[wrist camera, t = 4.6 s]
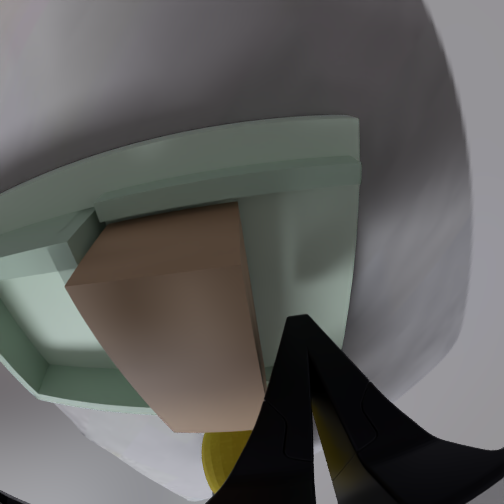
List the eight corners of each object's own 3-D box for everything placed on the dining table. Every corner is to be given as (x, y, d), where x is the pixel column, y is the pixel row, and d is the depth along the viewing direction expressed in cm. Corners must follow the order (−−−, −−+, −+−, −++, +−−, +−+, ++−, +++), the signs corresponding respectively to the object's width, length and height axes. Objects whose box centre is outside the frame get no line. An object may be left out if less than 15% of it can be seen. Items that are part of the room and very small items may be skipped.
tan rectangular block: (264, 369, 12) (271, 427, 9) (179, 376, 12) (174, 432, 10) (237, 201, 8) (240, 264, 5) (108, 224, 8) (64, 286, 5)
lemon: (282, 364, 14) (305, 509, 7) (299, 404, 17) (317, 510, 10) (187, 382, 15) (181, 514, 8) (222, 417, 18) (225, 519, 11)
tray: (332, 358, 14) (347, 408, 11) (64, 372, 14) (51, 411, 12) (345, 114, 8) (399, 132, 5) (-34, 211, 8) (-73, 246, 5)
